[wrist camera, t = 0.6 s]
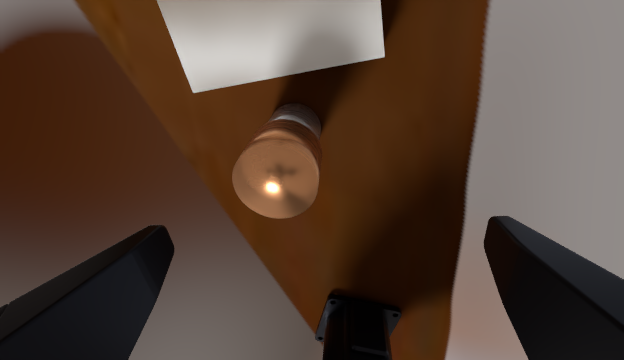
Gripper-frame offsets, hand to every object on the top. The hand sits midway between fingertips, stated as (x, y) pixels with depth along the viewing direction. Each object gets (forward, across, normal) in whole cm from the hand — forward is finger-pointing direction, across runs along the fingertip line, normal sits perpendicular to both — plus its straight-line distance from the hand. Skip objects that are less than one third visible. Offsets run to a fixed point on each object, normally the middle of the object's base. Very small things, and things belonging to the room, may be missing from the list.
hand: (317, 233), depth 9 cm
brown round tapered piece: (+11, +2, +1) cm, 12 cm away
